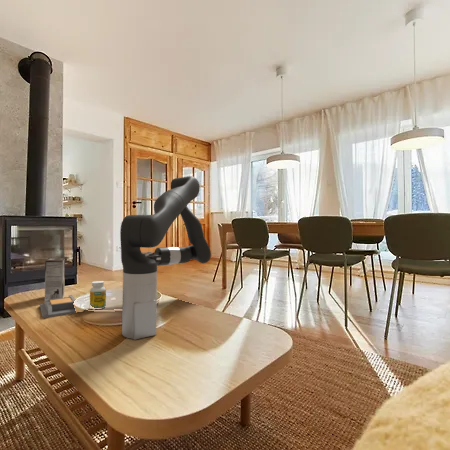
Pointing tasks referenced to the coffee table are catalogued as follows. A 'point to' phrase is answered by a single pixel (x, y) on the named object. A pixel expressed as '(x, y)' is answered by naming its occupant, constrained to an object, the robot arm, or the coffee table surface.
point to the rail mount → (57, 308)
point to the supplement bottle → (98, 295)
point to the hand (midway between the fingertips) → (129, 258)
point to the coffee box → (54, 278)
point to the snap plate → (60, 301)
